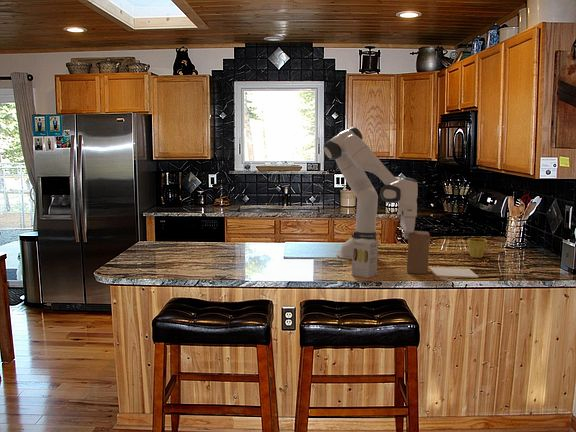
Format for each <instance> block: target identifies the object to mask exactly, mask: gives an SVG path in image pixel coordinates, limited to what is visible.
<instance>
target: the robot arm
mask: <svg viewBox="0 0 576 432" xmlns="http://www.w3.org/2000/svg"><path fill="white" fill-rule="evenodd" d="M323 152H324V153H325V156H327V158H328V159H329V160H332V161H333V160H334V161H335V163H336V165H337V167H338V169H339V171H340V173H341V174H342V176H343V179H345V181H346V183H347V184H348V186H349V188H350V189H351V191H352V192H353V194H354V195H355V198H356V212H355V213H356V214H355V230H350V234H351V237H350V238H349V239H347V240H346V241H345V242H343V243H342V244H341V247H340V251H338V252H336V257H337V258H340V259H345V260H346V259H347V260H348V259H349V260H352V256H353V241H355V240H358V239H368V240H375V241H377V216H378V215H377V213H378V206H379V205H378V204H379V202H378V201H379V196H378V193H377V191H376V189H375V187H374V186H373V184H372V182H371V180H370V179H369V177H368V175H367V174H366V172H368V173H371V174H373V175H375V176H377V177H378V178H379V180H380V181H381V182H382V183H383V184H384V185H383V186H382V187H381V188H380V193H379V194H380V198H381V200H382V201H384V202H385V203H388V204H392V203H398V213H397V214H398V215H400V223H399V224H400V227H401V228H402V229H403V237H404V240H408V238H409V233H413V232H414V231H415V227H416V218H417V217H418V202H417V200H418V192H419V191H418V190H419V189H418V186H419V185H418V182H417V180H416V179H415V178H412V177H406V176H404V177H401V178H400V179H397V177H396V176H395V175H394V174H393V173H392V172H391V171H390V169H388V168H387V167H386V165H385V164H384V163H383V162H382V161H381V160H380V159H379V158H378V156H376V154H375V152H374V151H373V150H372V149H371V148H370V147H369V145H367V143H366V142H365V141H364V140H363V134H362V132H361V131H360V129H359V128H357V127H356V126H352V127H349V128H346V129H345V130H342V131H341V132H339V133H337V135H335V136H333V137H332V138H331V139H329V140H327V141H326V142H325V143H324V144H323Z"/></svg>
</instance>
